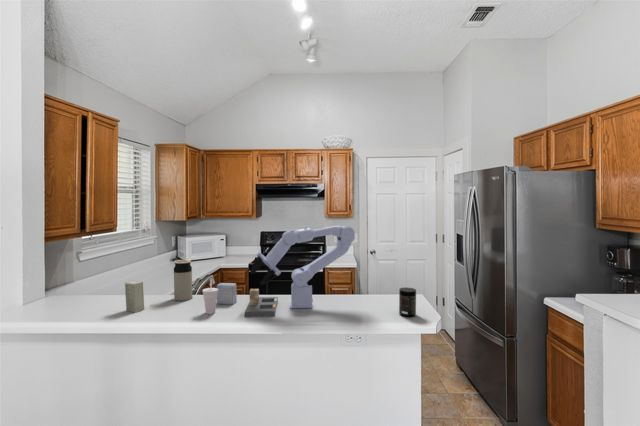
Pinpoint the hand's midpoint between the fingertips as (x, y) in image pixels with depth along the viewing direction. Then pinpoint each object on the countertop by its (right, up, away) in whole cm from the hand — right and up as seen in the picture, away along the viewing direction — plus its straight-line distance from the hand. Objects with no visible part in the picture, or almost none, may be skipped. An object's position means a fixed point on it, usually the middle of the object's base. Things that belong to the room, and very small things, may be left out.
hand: (256, 278), depth 150 cm
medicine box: (-15, -13, +8) cm, 21 cm away
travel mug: (-37, -12, +15) cm, 42 cm away
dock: (+3, -13, 0) cm, 13 cm away
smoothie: (-18, -13, -5) cm, 23 cm away
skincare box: (-51, -13, -2) cm, 53 cm away
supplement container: (+63, -13, -8) cm, 65 cm away
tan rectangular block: (-1, -11, 0) cm, 11 cm away
